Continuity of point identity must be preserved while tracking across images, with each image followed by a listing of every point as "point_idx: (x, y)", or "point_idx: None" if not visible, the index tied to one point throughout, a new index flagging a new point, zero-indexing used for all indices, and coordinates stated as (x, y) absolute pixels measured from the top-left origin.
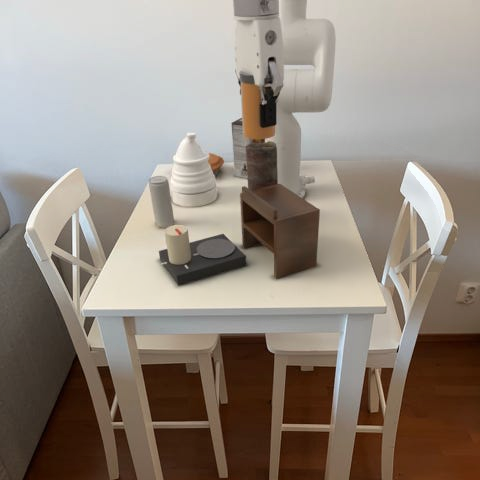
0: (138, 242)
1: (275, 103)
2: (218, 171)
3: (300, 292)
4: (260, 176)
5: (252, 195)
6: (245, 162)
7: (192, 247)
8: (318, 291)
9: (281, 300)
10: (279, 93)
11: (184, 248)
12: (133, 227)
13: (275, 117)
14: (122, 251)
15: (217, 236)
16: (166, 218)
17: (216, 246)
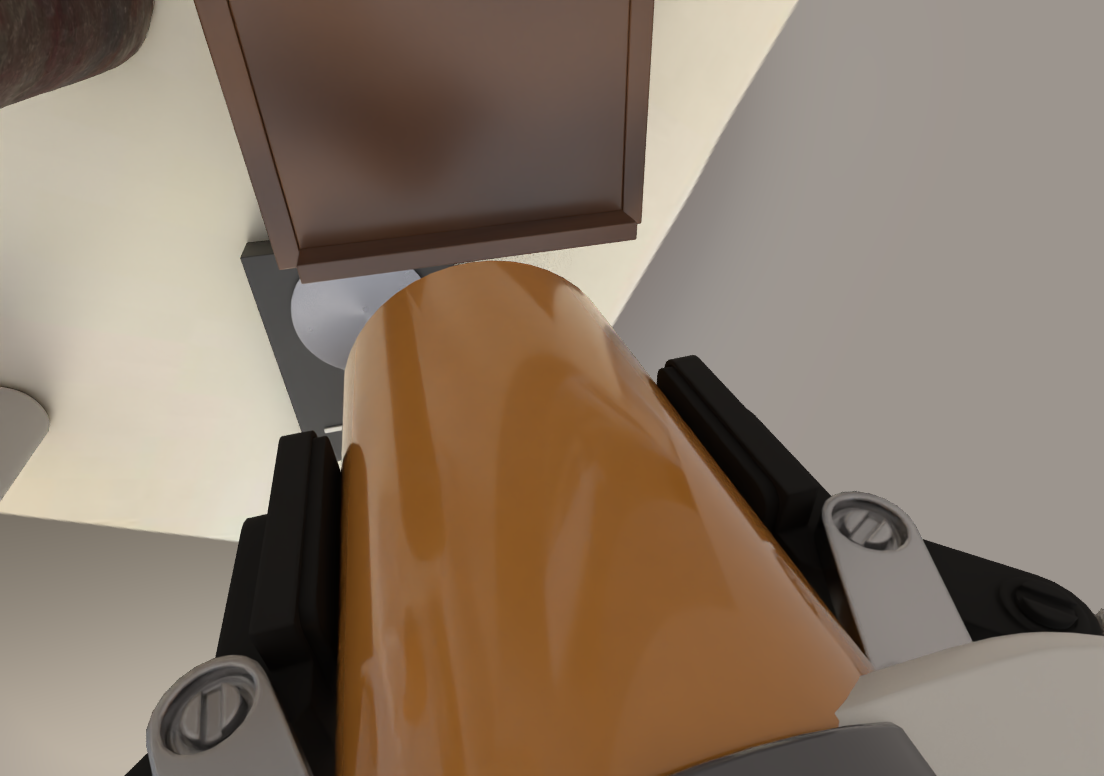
0: (164, 493)
1: (805, 484)
2: None
3: (659, 120)
4: (25, 61)
5: (432, 265)
6: None
7: (324, 377)
8: (685, 62)
9: (660, 192)
10: (1060, 588)
11: None
12: (22, 508)
13: (721, 394)
14: (220, 528)
15: (261, 284)
16: (32, 432)
17: (353, 310)
